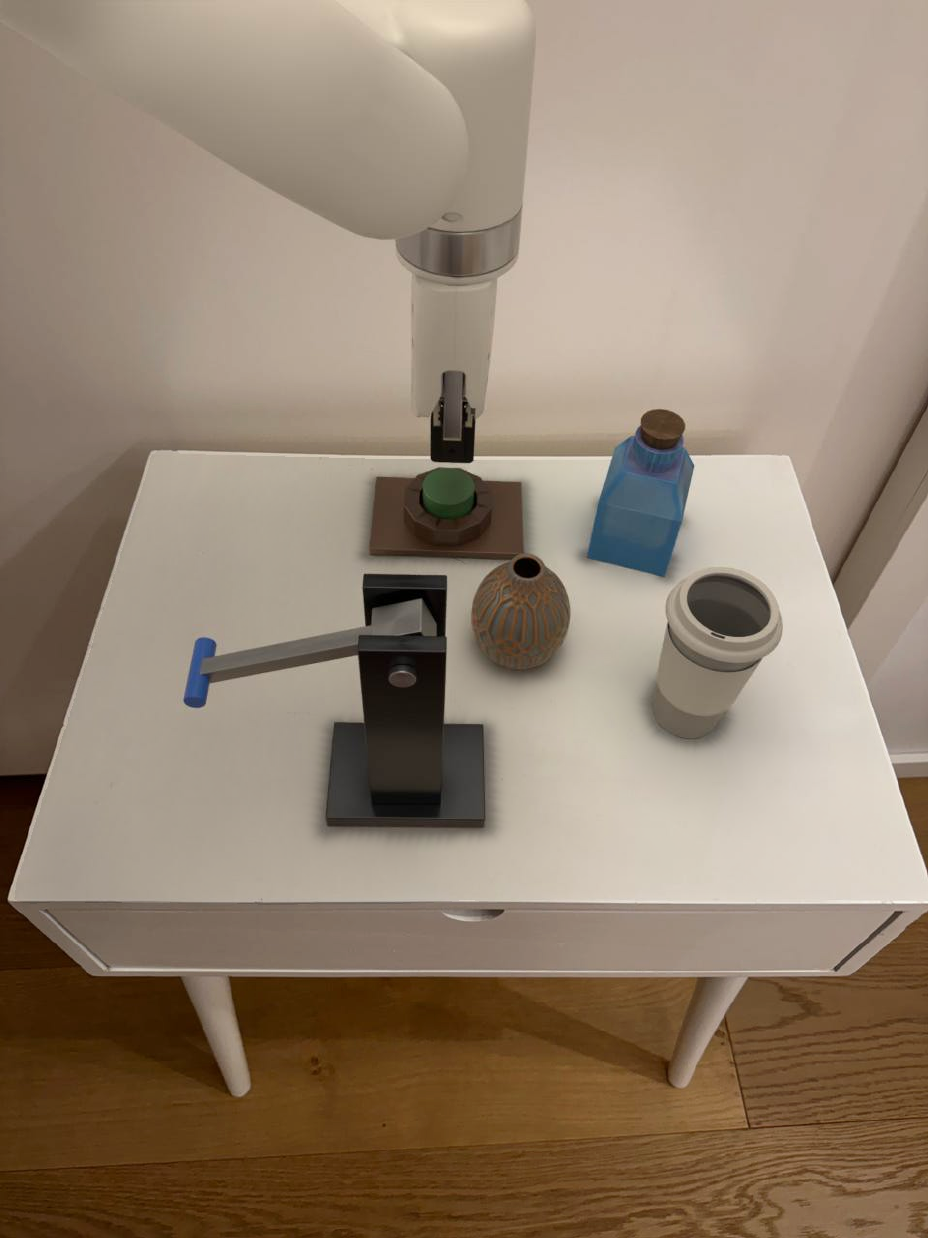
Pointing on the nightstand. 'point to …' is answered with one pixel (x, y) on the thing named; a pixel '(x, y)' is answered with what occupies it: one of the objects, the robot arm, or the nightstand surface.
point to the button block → (447, 521)
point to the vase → (521, 613)
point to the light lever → (300, 649)
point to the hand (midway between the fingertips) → (452, 454)
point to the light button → (448, 493)
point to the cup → (712, 647)
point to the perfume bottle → (644, 496)
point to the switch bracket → (405, 727)
